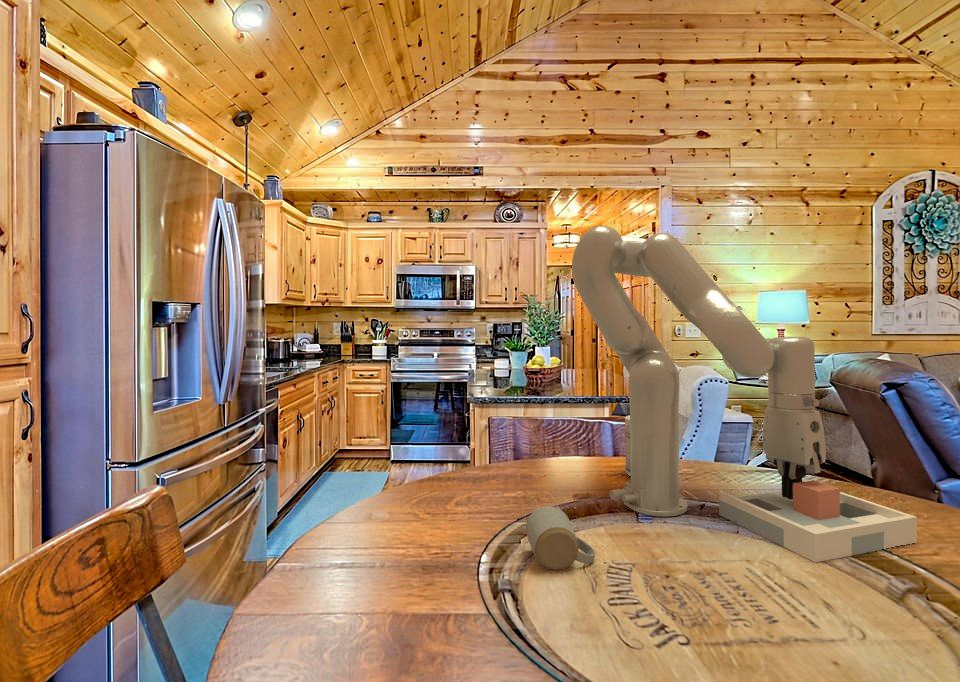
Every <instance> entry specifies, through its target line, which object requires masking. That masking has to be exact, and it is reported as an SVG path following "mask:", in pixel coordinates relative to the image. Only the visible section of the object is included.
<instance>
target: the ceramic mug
mask: <svg viewBox="0 0 960 682" xmlns="http://www.w3.org/2000/svg"><path fill="white" fill-rule="evenodd" d="M525 534H526V536H527V540H528V542H529V545H530V547H531V550H532V553H533V554H534V557H535V559H536V560H537V561H538V563H539V564H540V565H542V566H543V567H544V568H545V569H548V568H549V569H548V570H551V569H562V570H564V569H563V568H565V569H567V568H568V567H570V566H571V565H572V564H574V562H575V561H577V562H579V563H582V564H584V565H585V564H586V565H591V564H592V563H593V561H594V559H595V557H596V551H595V550H594V548H593V547H592V546H591V545H590V543H588V542H586V541H585V540H584V539H582V538H580V537H578V536H577V534H576V532H575V530H574V528H573V526H572V523H571V520H570V519H569V517H568V515H567V514H566V512H564V511H563V510H562V509H560V508H558V507H555V506H551V505H546V506H542V507H538V508H536V509H535V510H534V511H532V513H531V514H530V515H529V516H528V518H527V521H526V525H525ZM581 551H582V552H581ZM590 563H591V564H590Z"/></svg>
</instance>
